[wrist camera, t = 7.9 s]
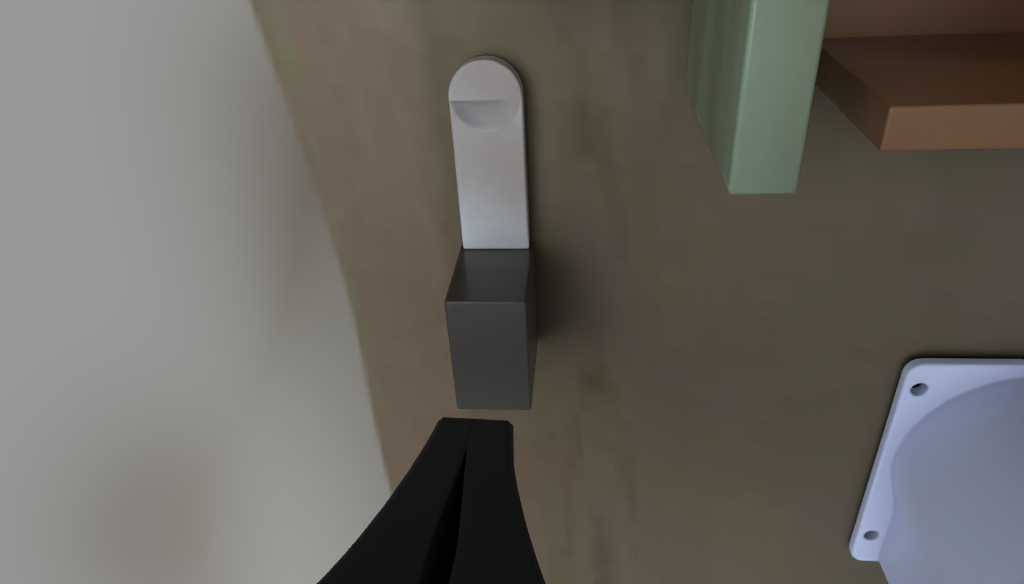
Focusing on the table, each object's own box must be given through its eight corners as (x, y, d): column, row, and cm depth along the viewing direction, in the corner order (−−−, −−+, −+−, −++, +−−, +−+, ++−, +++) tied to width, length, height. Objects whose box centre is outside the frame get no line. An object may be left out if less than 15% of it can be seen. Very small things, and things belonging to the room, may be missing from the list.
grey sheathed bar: (537, 342, 24) (531, 410, 21) (472, 341, 24) (457, 409, 21) (526, 53, 19) (515, 90, 16) (444, 56, 19) (418, 93, 16)
